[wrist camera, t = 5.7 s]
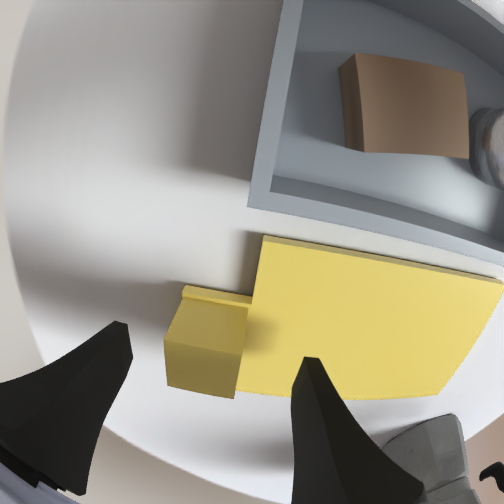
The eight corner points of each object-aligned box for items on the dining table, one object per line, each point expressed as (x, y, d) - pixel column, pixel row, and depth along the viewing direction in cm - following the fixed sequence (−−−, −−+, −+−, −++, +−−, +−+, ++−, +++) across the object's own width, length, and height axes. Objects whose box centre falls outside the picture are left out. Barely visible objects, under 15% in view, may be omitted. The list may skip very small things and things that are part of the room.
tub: (533, 100, 7) (576, 105, 4) (504, 249, 10) (542, 279, 7) (291, -22, 7) (297, -69, 3) (254, 183, 10) (246, 207, 7)
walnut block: (431, 79, 7) (463, 73, 5) (436, 151, 9) (468, 159, 7) (337, 68, 8) (355, 52, 6) (345, 148, 9) (364, 152, 7)
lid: (496, 276, 11) (533, 312, 8) (432, 383, 15) (449, 424, 12) (192, 219, 11) (157, 260, 8) (186, 366, 15) (169, 419, 12)
